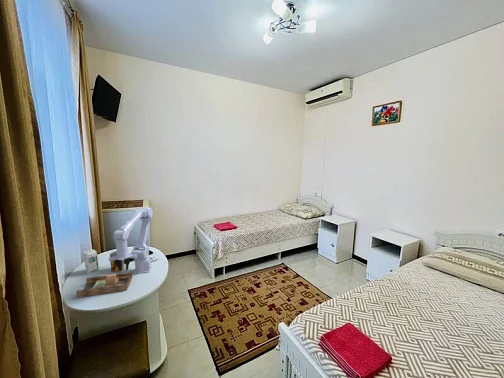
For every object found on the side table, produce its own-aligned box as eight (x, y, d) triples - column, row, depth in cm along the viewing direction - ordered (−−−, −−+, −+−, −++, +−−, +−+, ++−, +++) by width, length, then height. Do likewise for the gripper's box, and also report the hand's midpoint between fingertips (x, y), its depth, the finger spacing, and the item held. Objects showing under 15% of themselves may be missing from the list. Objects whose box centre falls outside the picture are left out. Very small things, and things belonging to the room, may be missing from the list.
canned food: (110, 269, 152) (108, 252, 150) (123, 265, 157) (121, 249, 155) (112, 273, 146) (110, 257, 144) (125, 269, 151) (124, 253, 149)
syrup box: (89, 274, 145) (87, 254, 143) (85, 271, 148) (83, 251, 146) (99, 270, 150) (96, 250, 147) (95, 268, 153) (92, 248, 150)
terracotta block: (116, 280, 135) (115, 273, 134) (114, 284, 131) (113, 277, 130) (108, 281, 134) (107, 275, 133) (105, 285, 129) (105, 279, 129)
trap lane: (132, 277, 142) (131, 271, 141) (127, 290, 129) (126, 284, 128) (87, 283, 135) (86, 277, 134) (77, 297, 121) (76, 291, 121)
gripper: (106, 253, 125) (108, 275, 127) (134, 250, 129) (135, 271, 131) (110, 248, 132) (112, 269, 134) (136, 246, 136) (138, 266, 138)
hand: (124, 270), depth 133 cm, fingers open, 3 cm apart
